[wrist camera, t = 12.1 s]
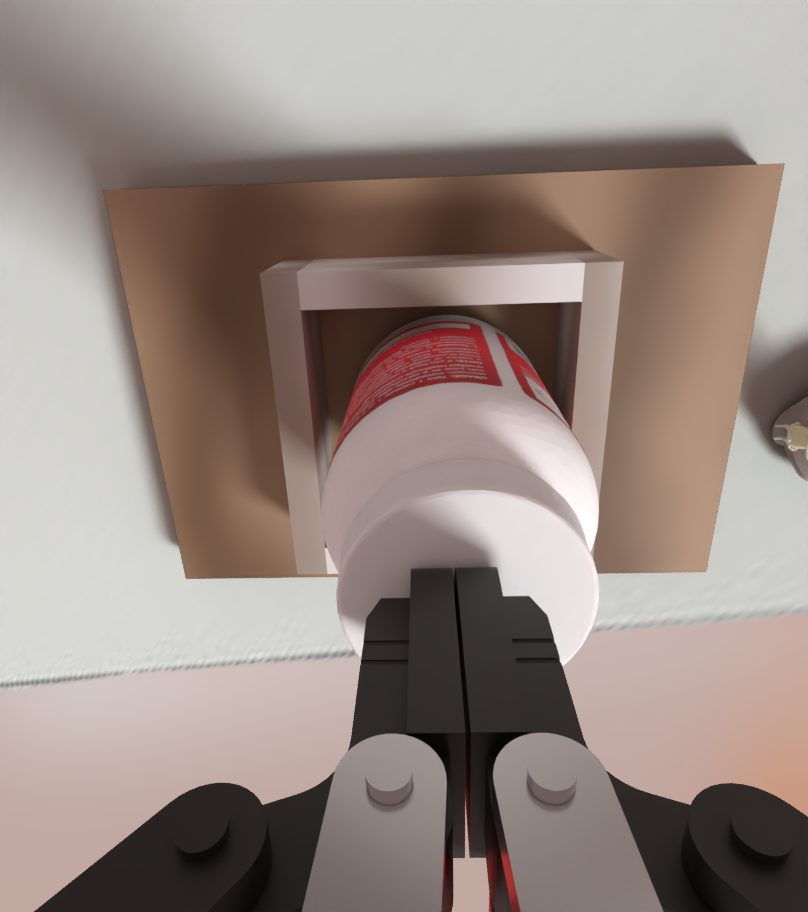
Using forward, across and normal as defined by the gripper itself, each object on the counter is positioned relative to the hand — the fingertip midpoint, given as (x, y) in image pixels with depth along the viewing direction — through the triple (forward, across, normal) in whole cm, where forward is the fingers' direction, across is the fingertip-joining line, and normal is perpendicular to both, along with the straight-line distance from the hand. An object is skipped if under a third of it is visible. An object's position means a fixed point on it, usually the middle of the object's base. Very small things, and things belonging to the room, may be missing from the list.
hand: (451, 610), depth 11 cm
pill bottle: (+11, 0, 0) cm, 11 cm away
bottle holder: (+13, 0, 0) cm, 13 cm away
